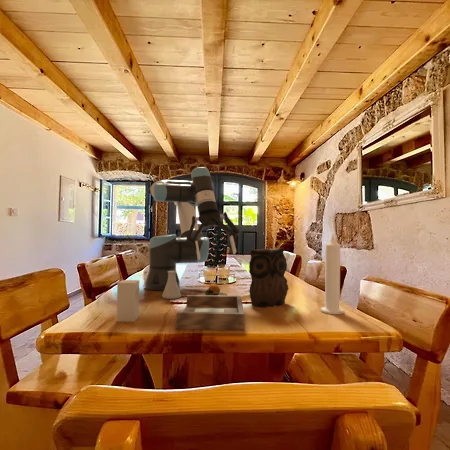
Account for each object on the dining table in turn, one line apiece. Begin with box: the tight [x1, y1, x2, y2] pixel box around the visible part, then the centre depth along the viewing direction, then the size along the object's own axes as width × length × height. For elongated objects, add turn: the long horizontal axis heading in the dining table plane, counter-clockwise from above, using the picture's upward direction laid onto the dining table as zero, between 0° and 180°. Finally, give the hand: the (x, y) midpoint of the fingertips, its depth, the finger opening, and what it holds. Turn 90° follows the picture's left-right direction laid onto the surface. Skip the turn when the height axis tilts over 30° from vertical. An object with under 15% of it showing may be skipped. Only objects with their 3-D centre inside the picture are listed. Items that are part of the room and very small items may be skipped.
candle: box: [320, 234, 345, 315], centre depth 102 cm, size 7×7×25 cm
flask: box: [161, 270, 183, 300], centre depth 120 cm, size 7×7×10 cm
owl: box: [248, 247, 289, 308], centre depth 111 cm, size 13×13×20 cm
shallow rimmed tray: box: [175, 294, 245, 331], centre depth 94 cm, size 18×22×4 cm
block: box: [116, 279, 140, 323], centre depth 91 cm, size 5×4×11 cm
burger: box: [196, 283, 228, 296], centre depth 118 cm, size 12×12×8 cm
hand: (217, 255), depth 116 cm, fingers open, 13 cm apart
